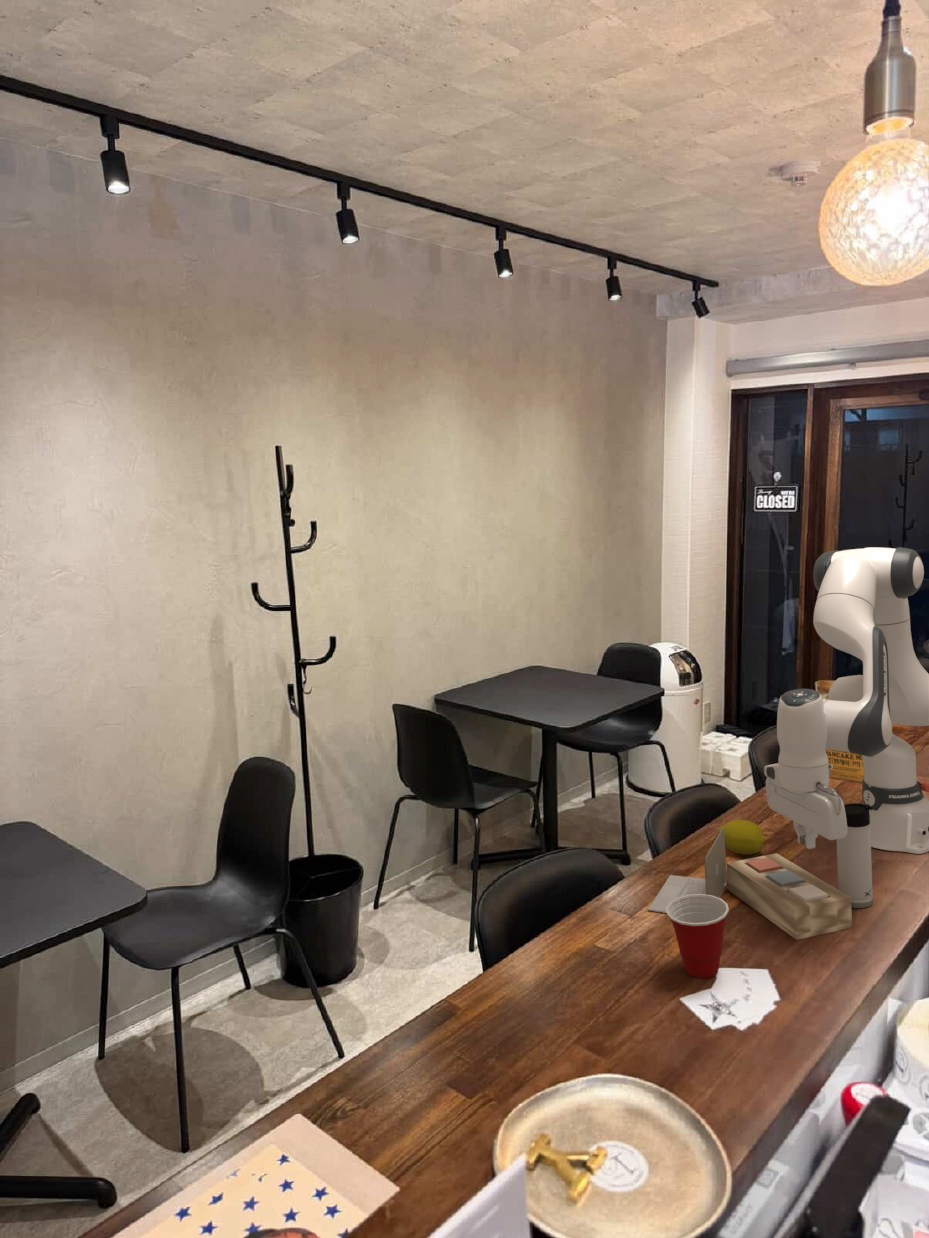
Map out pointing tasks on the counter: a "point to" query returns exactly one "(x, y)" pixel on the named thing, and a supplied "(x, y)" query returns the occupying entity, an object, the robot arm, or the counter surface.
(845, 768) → the pancake mix bag
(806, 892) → the white key
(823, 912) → the key panel
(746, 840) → the lemon
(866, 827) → the travel mug
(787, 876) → the slate key
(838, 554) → the robot arm
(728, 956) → the counter surface
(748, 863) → the red key
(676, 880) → the laptop
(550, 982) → the counter surface
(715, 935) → the plastic cup
